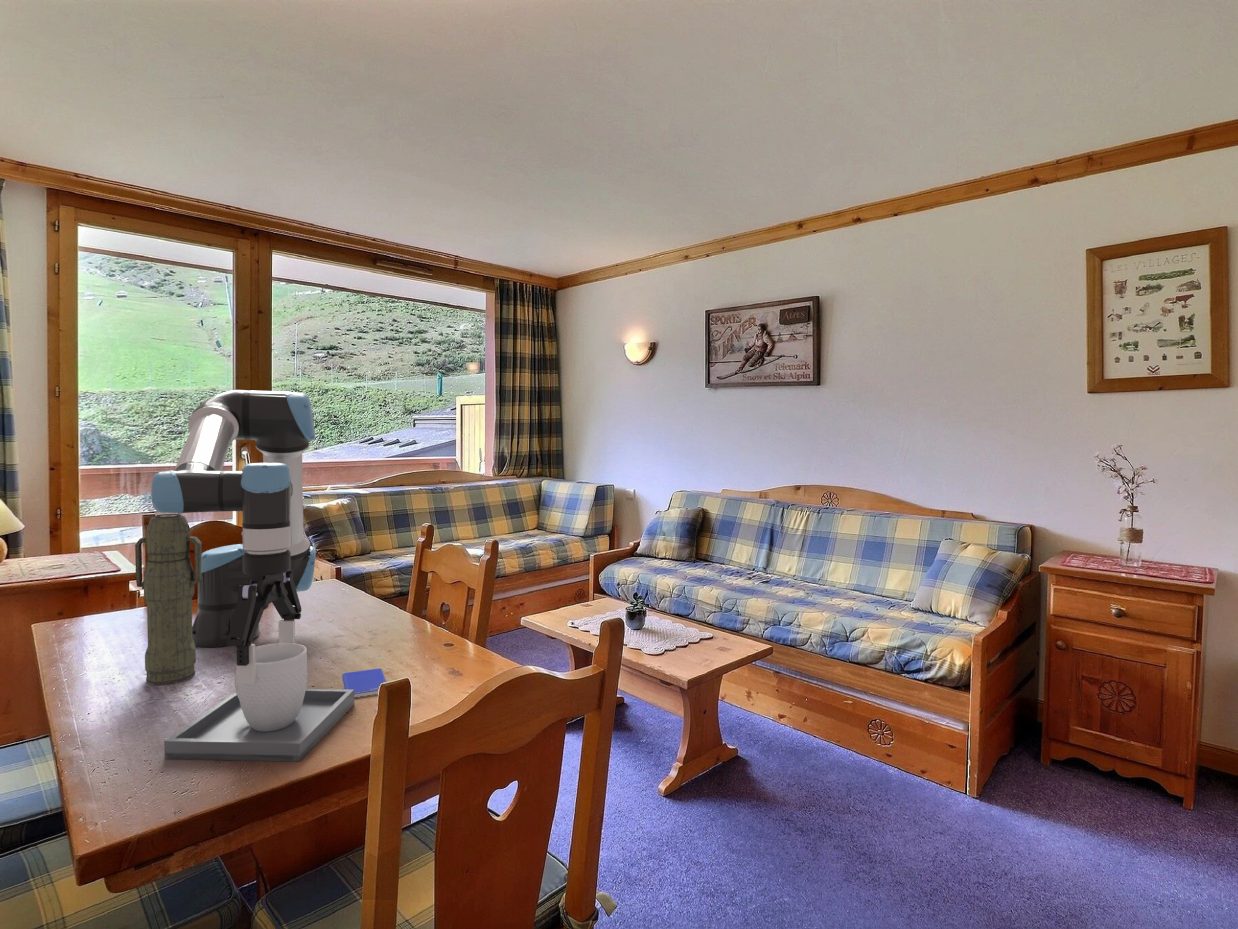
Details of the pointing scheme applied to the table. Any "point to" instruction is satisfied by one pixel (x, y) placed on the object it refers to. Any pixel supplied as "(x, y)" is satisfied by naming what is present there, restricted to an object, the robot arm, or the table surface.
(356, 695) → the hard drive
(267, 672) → the mug
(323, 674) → the table surface
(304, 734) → the tray
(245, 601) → the robot arm
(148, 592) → the thermos
